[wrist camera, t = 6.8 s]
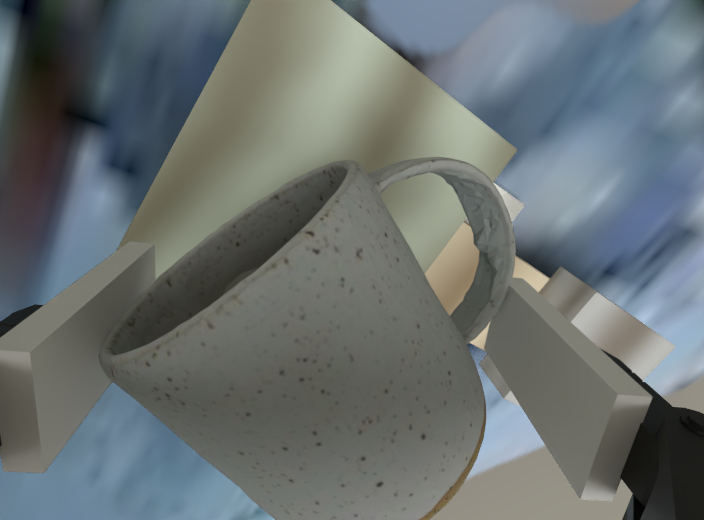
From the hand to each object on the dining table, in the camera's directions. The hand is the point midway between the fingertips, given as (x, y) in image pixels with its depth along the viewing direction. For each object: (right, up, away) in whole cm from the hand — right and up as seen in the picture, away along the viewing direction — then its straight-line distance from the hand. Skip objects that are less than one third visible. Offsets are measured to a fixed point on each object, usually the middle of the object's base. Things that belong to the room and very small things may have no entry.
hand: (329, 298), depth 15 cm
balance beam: (+6, +1, +13) cm, 15 cm away
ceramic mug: (+1, +1, +1) cm, 1 cm away
